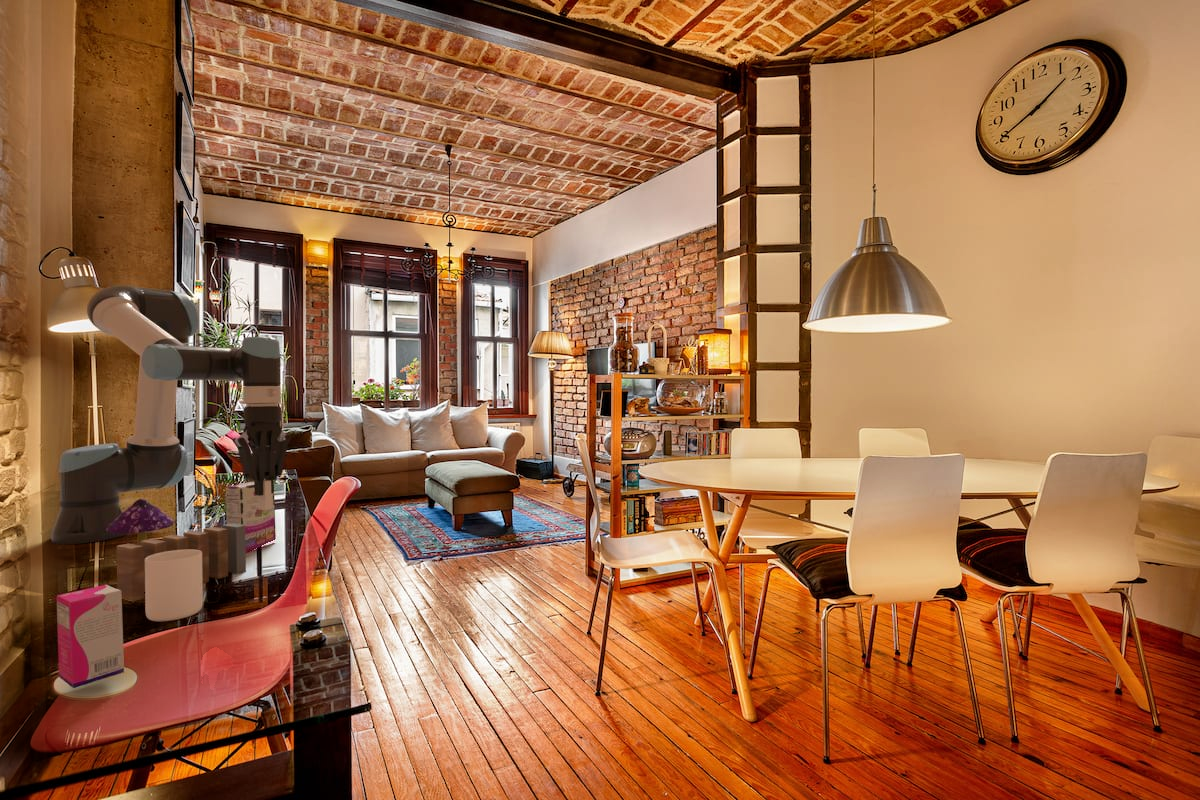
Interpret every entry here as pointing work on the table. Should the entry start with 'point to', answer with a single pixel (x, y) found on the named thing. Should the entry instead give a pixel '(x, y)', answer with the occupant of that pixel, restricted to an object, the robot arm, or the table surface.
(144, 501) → the decorative mushroom
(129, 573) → the walnut domino
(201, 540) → the walnut domino
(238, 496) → the candy bar box
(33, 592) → the table surface
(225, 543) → the walnut domino
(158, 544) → the walnut domino
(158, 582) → the white oval pot
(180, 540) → the walnut domino
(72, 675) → the supplement box
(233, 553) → the charcoal domino
